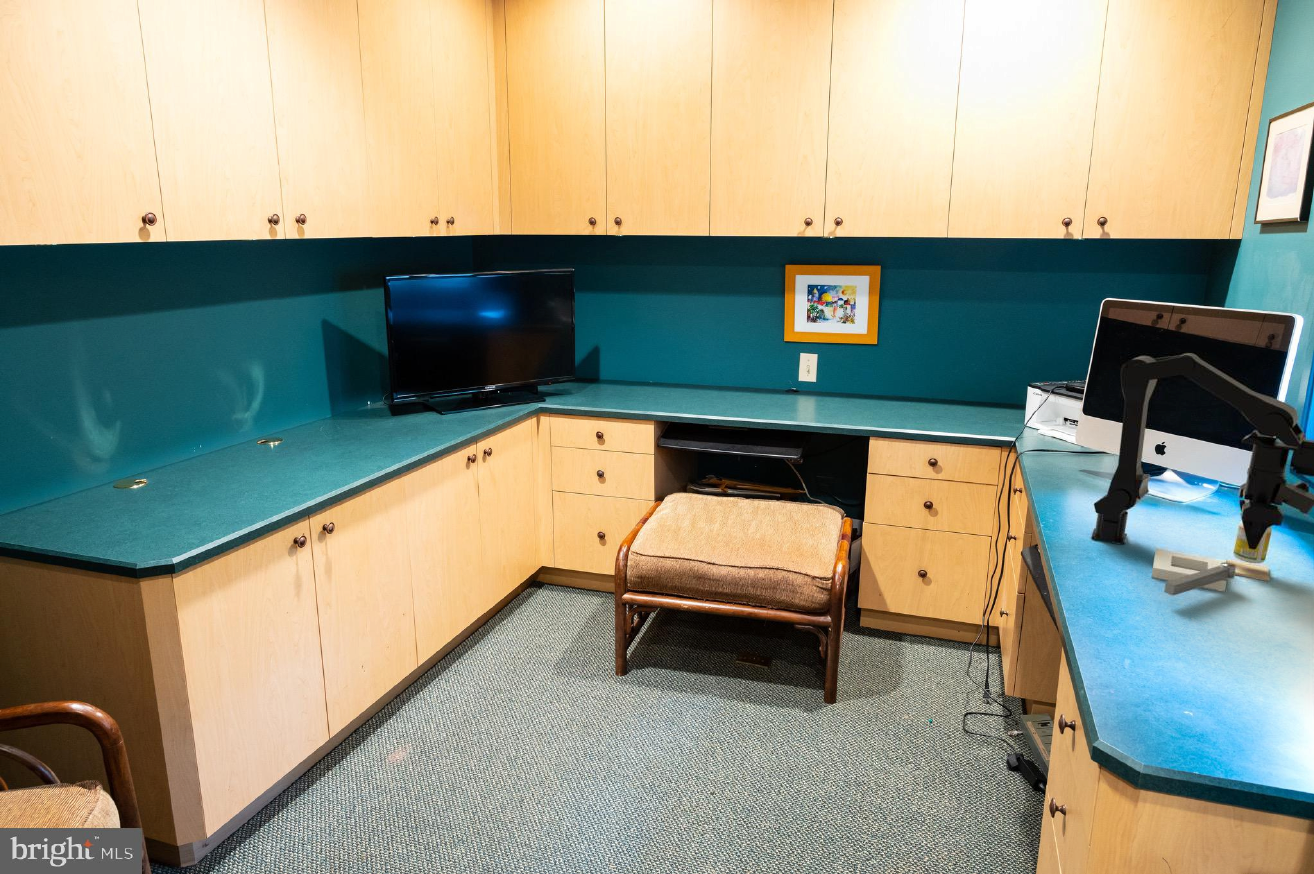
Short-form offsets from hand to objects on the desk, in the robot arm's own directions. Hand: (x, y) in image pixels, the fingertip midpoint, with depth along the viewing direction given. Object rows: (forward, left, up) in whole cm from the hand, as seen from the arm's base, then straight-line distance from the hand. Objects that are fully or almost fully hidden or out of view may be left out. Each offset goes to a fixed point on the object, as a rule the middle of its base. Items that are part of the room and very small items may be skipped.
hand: (1251, 544), depth 171 cm
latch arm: (+19, -8, -3) cm, 21 cm away
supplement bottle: (0, 0, -3) cm, 3 cm away
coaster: (0, 0, -6) cm, 6 cm away
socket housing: (+8, -10, -6) cm, 14 cm away
